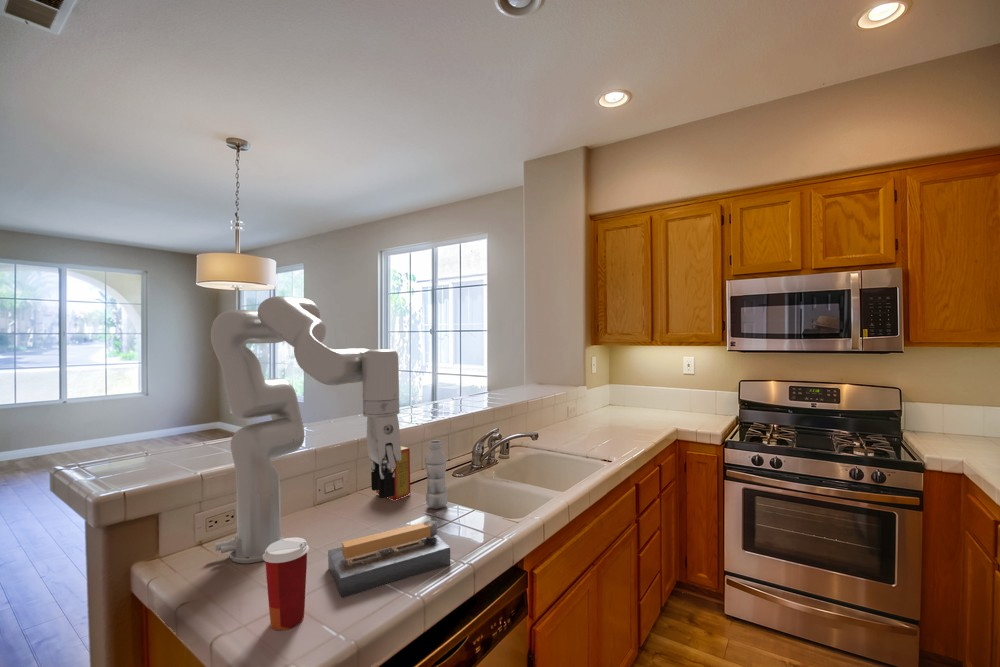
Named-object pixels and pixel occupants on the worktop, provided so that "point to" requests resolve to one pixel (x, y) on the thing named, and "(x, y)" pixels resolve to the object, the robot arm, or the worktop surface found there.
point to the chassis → (386, 564)
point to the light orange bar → (388, 539)
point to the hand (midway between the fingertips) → (383, 492)
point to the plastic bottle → (436, 476)
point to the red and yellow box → (402, 475)
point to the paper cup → (286, 581)
